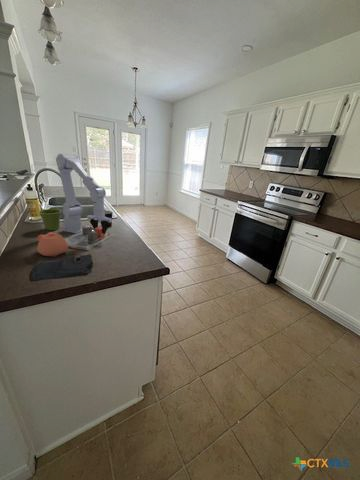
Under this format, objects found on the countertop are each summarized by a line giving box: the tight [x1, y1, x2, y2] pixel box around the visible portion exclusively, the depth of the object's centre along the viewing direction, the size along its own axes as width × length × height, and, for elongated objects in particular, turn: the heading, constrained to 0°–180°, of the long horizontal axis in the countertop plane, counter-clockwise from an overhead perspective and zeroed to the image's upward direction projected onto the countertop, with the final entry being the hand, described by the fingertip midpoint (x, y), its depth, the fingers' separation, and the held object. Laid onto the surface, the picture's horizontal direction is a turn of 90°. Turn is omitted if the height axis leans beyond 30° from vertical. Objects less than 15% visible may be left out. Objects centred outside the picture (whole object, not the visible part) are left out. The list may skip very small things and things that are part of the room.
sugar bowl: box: [37, 231, 69, 257], centre depth 94 cm, size 12×14×10 cm
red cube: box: [95, 226, 105, 237], centre depth 116 cm, size 4×4×4 cm
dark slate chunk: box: [30, 253, 94, 282], centre depth 83 cm, size 15×22×5 cm
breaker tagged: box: [88, 232, 97, 241], centre depth 110 cm, size 3×4×4 cm
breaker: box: [81, 225, 92, 234], centre depth 119 cm, size 3×4×4 cm
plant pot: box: [37, 208, 62, 231], centre depth 124 cm, size 12×12×11 cm
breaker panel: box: [64, 229, 114, 252], centre depth 113 cm, size 18×24×2 cm
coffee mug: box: [92, 210, 113, 229], centre depth 137 cm, size 12×9×10 cm
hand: (100, 232), depth 117 cm, fingers open, 5 cm apart
